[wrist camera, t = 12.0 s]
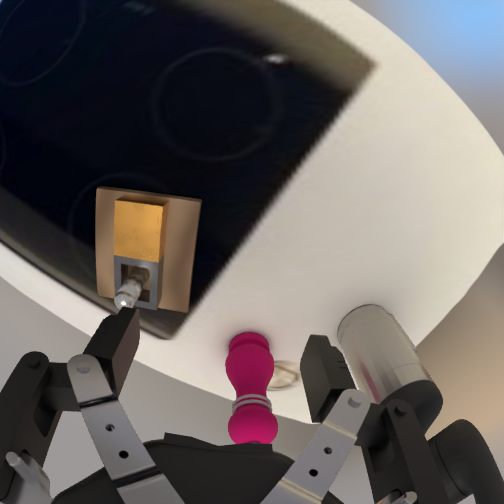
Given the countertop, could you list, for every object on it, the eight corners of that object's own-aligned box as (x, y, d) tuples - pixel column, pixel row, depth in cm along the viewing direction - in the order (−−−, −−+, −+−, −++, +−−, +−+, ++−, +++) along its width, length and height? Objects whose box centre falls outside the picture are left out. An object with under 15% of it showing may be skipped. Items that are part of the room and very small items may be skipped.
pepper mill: (225, 362, 47) (222, 467, 29) (226, 328, 44) (221, 439, 26) (269, 363, 48) (281, 467, 29) (274, 329, 45) (291, 439, 26)
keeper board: (202, 199, 37) (200, 202, 36) (189, 307, 43) (187, 312, 41) (101, 186, 36) (96, 188, 34) (101, 290, 41) (98, 295, 40)
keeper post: (149, 267, 39) (131, 298, 31) (149, 283, 39) (131, 316, 32) (132, 263, 38) (110, 294, 31) (132, 280, 39) (111, 312, 32)
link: (168, 200, 35) (162, 206, 33) (161, 298, 40) (156, 310, 38) (124, 194, 35) (115, 200, 32) (122, 291, 40) (115, 302, 37)
